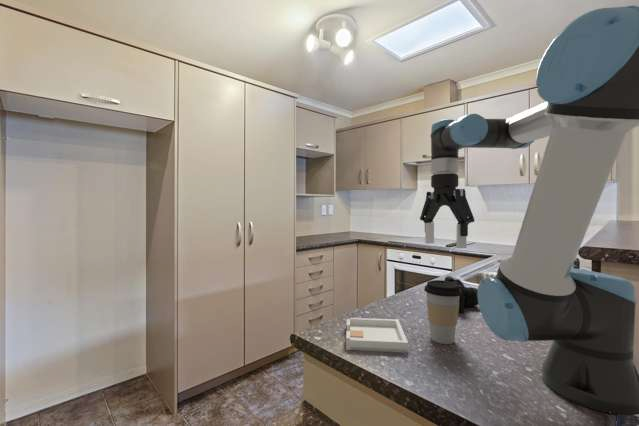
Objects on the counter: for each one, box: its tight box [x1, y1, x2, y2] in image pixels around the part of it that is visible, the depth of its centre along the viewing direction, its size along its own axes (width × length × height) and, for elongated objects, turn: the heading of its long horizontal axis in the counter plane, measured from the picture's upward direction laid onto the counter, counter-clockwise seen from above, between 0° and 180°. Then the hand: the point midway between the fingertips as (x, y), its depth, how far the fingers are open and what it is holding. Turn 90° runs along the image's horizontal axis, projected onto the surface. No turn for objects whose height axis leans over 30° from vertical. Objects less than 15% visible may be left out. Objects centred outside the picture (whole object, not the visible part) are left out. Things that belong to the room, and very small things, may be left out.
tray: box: [345, 317, 409, 354], centre depth 83 cm, size 15×15×2 cm
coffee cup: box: [424, 279, 462, 345], centre depth 82 cm, size 9×9×15 cm
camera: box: [443, 275, 479, 314], centre depth 108 cm, size 14×11×10 cm
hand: (444, 245), depth 91 cm, fingers open, 13 cm apart
